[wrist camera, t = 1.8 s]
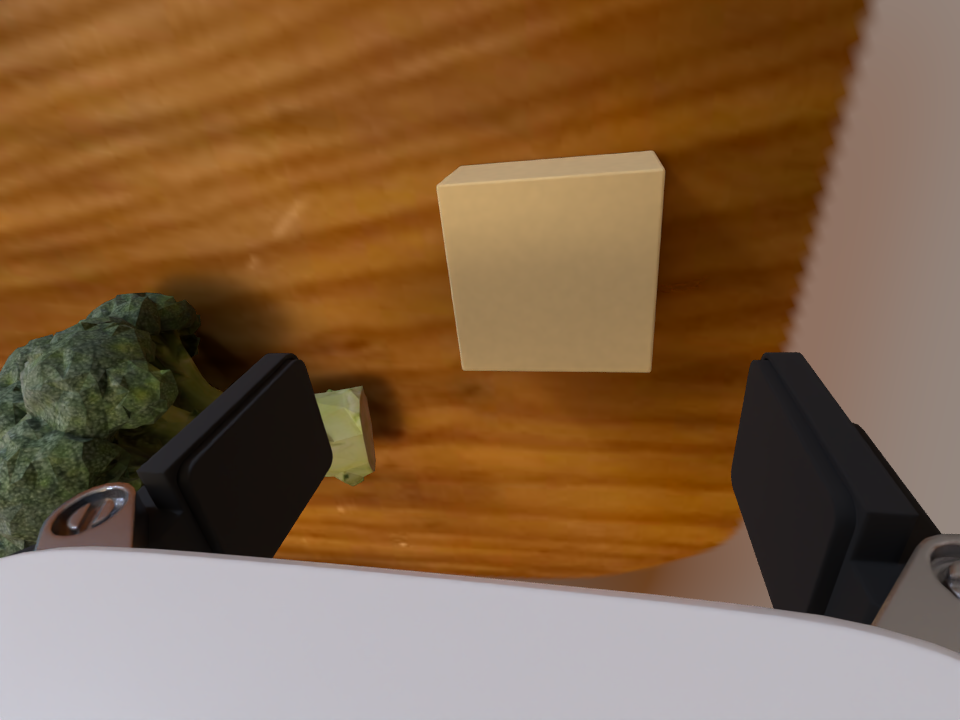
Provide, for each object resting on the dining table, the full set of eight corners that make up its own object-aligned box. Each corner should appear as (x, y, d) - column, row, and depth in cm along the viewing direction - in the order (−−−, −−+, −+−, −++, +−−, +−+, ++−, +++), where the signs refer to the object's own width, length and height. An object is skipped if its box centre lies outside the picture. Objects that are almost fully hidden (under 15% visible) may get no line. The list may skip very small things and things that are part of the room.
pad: (654, 149, 17) (665, 167, 14) (643, 330, 20) (651, 373, 17) (459, 165, 18) (435, 185, 15) (478, 331, 21) (461, 371, 19)
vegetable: (379, 564, 27) (44, 620, 23) (361, 339, 31) (68, 354, 27) (399, 591, 16) (-242, 709, 12) (368, 231, 19) (-135, 228, 15)
